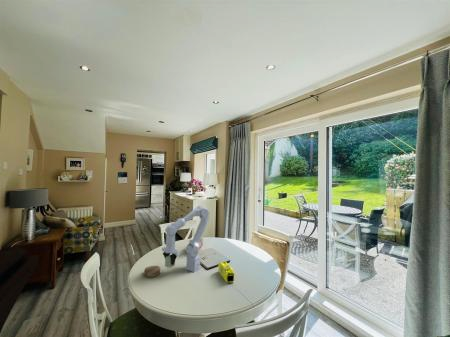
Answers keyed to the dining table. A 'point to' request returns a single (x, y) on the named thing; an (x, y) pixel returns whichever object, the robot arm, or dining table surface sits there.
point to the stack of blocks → (199, 242)
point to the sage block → (168, 262)
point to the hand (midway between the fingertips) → (170, 263)
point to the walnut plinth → (152, 271)
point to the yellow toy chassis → (226, 272)
